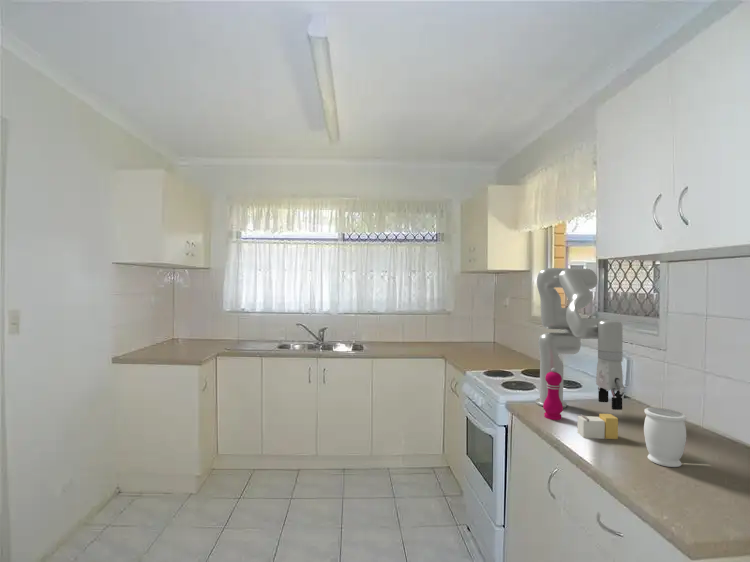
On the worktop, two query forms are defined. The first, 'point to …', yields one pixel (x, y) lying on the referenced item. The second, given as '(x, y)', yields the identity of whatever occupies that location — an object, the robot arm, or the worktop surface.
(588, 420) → the ticket
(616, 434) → the stub
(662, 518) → the worktop surface
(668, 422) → the jar
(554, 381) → the pepper mill
